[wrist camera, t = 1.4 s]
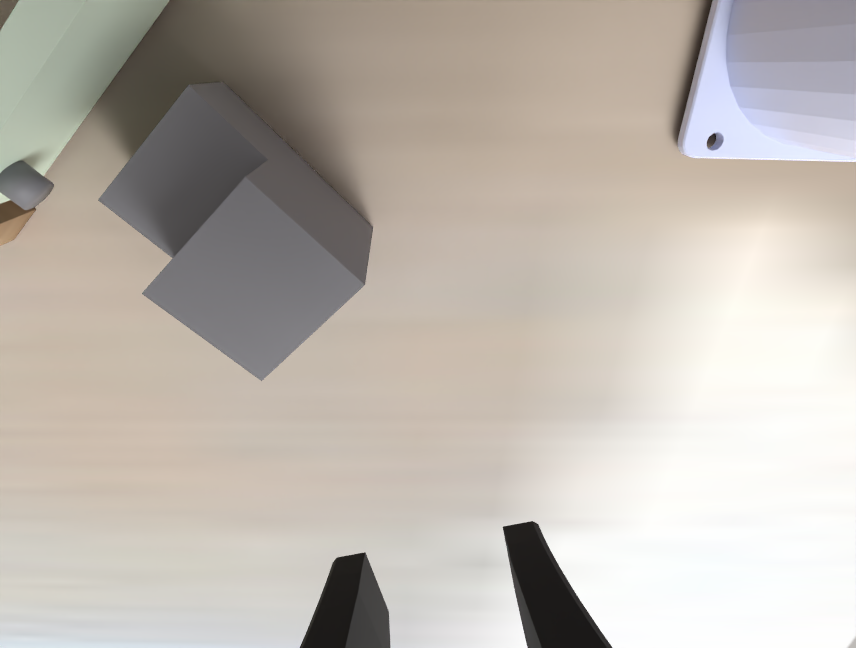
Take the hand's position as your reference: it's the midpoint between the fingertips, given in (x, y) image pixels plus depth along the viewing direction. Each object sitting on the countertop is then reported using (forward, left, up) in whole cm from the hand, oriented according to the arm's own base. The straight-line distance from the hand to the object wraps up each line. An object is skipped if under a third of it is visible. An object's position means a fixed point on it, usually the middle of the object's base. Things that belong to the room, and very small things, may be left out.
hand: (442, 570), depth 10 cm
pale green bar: (+8, -9, -9) cm, 16 cm away
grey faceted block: (+5, -5, -10) cm, 12 cm away
